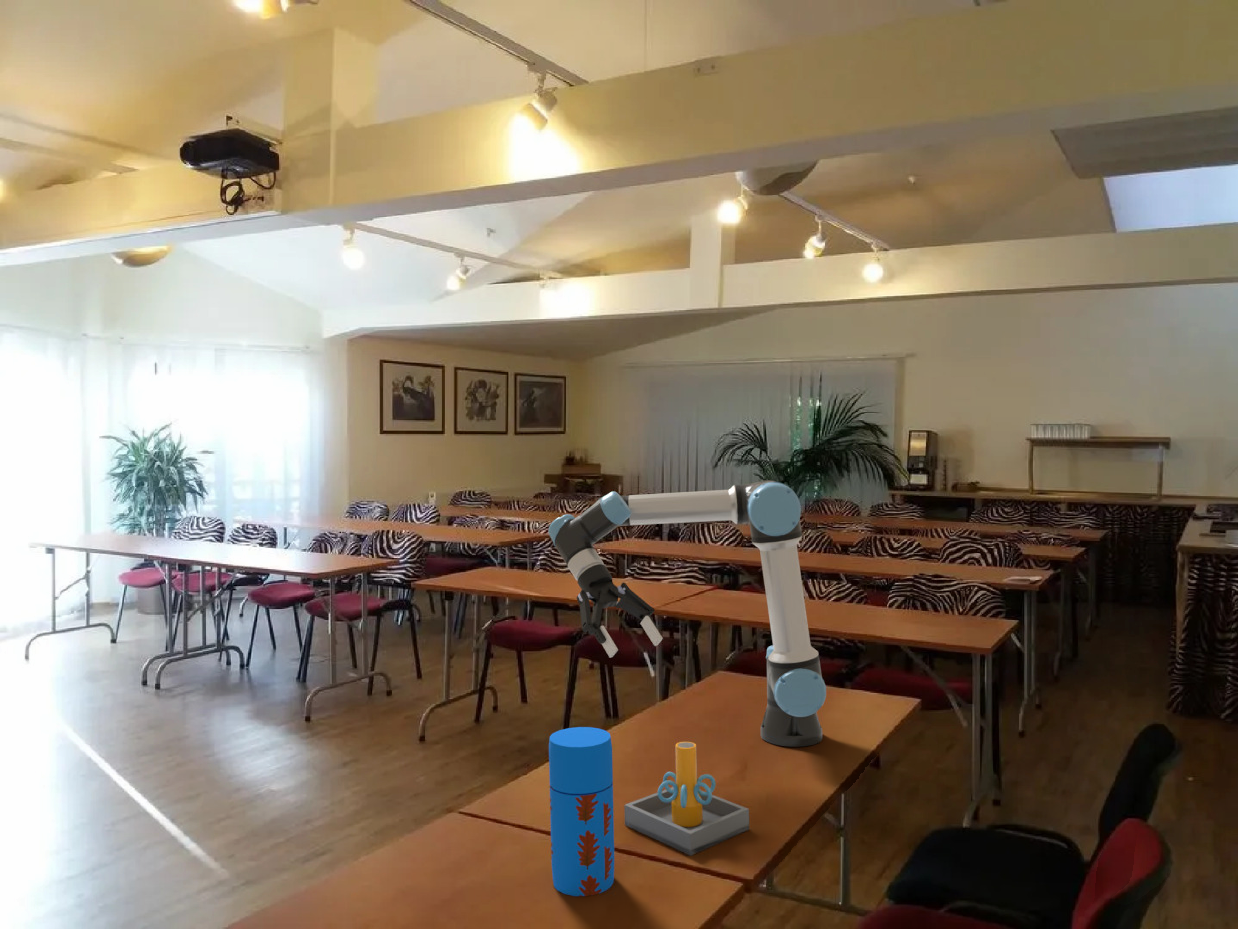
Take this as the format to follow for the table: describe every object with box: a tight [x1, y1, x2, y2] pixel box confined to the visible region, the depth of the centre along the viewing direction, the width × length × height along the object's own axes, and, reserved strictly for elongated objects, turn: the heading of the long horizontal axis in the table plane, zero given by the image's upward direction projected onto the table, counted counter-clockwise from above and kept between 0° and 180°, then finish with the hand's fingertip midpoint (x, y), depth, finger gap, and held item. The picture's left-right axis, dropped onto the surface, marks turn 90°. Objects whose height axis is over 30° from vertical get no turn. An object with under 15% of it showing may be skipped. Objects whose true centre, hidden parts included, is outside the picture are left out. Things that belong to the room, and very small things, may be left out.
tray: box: [623, 786, 750, 856], centre depth 178 cm, size 16×18×4 cm
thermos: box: [548, 726, 615, 897], centre depth 157 cm, size 11×11×25 cm
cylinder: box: [657, 741, 716, 827], centre depth 178 cm, size 12×10×15 cm
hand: (637, 648), depth 203 cm, fingers open, 13 cm apart
